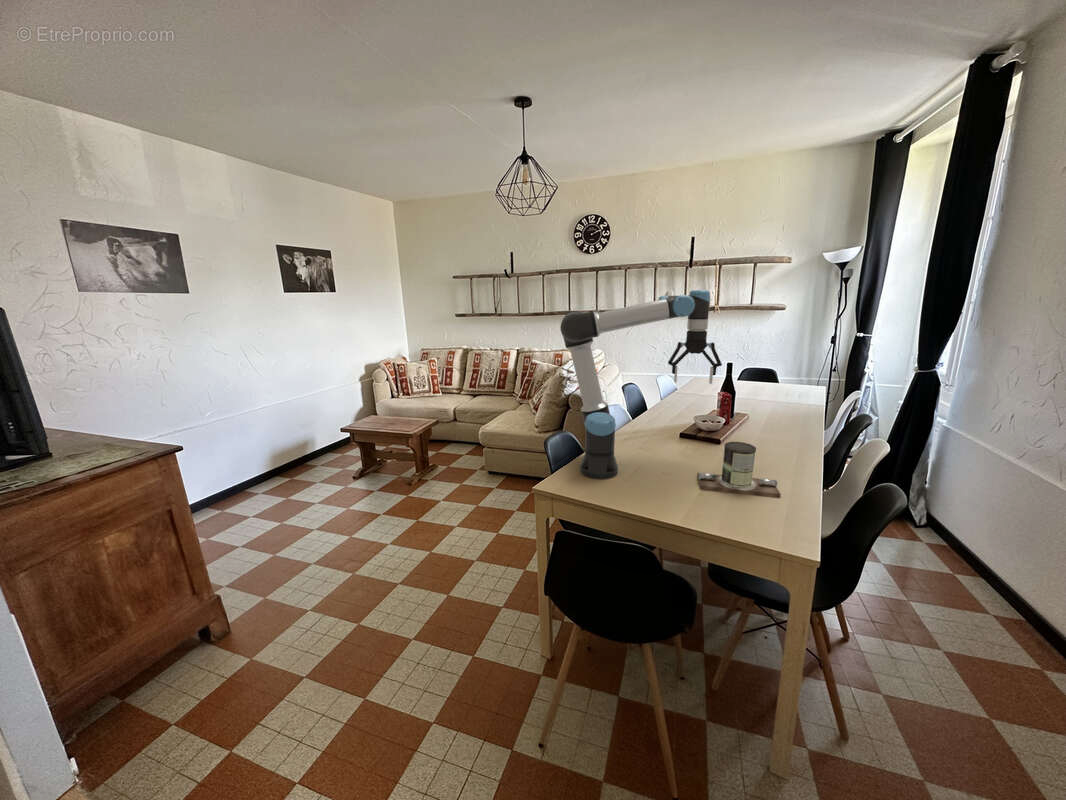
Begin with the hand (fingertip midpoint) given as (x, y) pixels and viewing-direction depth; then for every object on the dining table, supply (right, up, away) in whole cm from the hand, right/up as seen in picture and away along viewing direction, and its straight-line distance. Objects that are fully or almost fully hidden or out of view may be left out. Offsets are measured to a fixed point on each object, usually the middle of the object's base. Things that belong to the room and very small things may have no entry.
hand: (692, 382), depth 168 cm
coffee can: (+10, -38, -16) cm, 42 cm away
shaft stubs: (+10, -38, -16) cm, 42 cm away
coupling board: (+10, -39, -16) cm, 44 cm away
